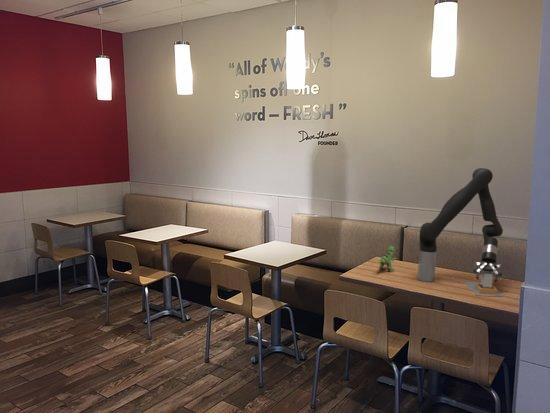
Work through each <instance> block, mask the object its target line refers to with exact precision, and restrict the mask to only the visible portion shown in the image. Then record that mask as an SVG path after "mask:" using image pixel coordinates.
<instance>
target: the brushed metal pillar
mask: <svg viewBox="0 0 550 413" xmlns="http://www.w3.org/2000/svg"><path fill="white" fill-rule="evenodd" d="M480 273H481V275H480V283H481V286H480V288H484V289H492V285H493V276H494V273H493V272H492V271H491V272H489V271H482V272H480Z"/></svg>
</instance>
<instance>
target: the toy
mask: <svg viewBox="0 0 550 413" xmlns="http://www.w3.org/2000/svg"><path fill="white" fill-rule="evenodd" d="M387 251H388V253H386V254H384V255H382V256H381V258H380V259H379V260H378V263H379V266H378V269H379V271H382V270H386V269H385V268H386V267H384V266H387V270H388V273H394V272H395V269H392V262H395V260H397V257H396V256H395V257H393V254H394V252H395V246H393V245H388V248H387Z"/></svg>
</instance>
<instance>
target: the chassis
mask: <svg viewBox="0 0 550 413" xmlns="http://www.w3.org/2000/svg"><path fill="white" fill-rule="evenodd" d="M464 283H465V284H466V286H467V287H468V288H469V289H470V290H471V292H473V293H474V295H475V297H480V295H481V296H486V297H493V298H495V297H496V298H501V296H503V294H502V292H501V291H499V290H498V289H497V287H496V286H494V285H493V284H492V289H484V288H480V286H481V282H473V281H472V282H471V281H469V282H468V281H464Z"/></svg>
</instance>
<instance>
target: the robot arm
mask: <svg viewBox="0 0 550 413" xmlns="http://www.w3.org/2000/svg"><path fill="white" fill-rule="evenodd" d="M493 177H494V176H493V172H492V171H491V170H490V169H488V168H485V167H483V168H482V167H479V168H476V169H475V170H474V171H473V172H472V178H471V180H470V181H469V182H468V184H466V185H465V186H464V187H463V188H461V189H459V190H458V191H457V192H455V193H454V194H453V195H452V196H451V197H450V198H449V199H448V200H447V201H446V202H445V204H444V205H443V206H442V208H441V210H440V212H439V214H437V216H436V217H435V218H434V219H433V220H432V221H430V222H425V223H423V224H422V225H421V226H420V228H419V229H420V230H419V258H418V260H419V261H418V264H417V265H418V266H417V279H418V281H421V282H422V281H423V282H428V283H429V282H435V280H436V269H437V268H436V266H437V251H438V250H437V248H438V247H437V238H438V237H439V236H440V235H441V233H442V232H443V230H444V229H445V228H447V226H448V224H449V223H451V221H453V220H454V219H455V218H456V217H457V216H458V215H459V214H460V213H461V212H462V211H463V210H464V209H465V207H467V206H468V204H469V203H470V202H471V201H472V200H473V199H474V198H475V196H477V195H478V199H479V204H480V208H481V214H482V218H483V221H485V222H491V224H485V225H483V226H482V229H481V230H482V231H481V232H482V236H483V247H482V252H481V260H480V262H478V261H476V260H475V261H474V264H473V268H472V269H473V273H474V274H476V275H475V279H476V280H477V281H479V279H480V273H482V272H491V273H492V274H493V275H494V283H497V282H498V279H499V277H502V276H503V264H501V263H500V264H497V261H498V260H497V259H498V246H499V245H498V244H499V241H498V239H497V238H496V237H501V236H502V235H503V232H504V231H503V230H504V229H503V227H502V225H501V223H500V221H499V220H498V216H497V212H496V206H495V204H494V201H493V198H492V195H491V192H490V188H489V184H490V183H491V182H492V180H493ZM478 267H479V268H478ZM477 268H478V269H477ZM497 269H498V270H499V272H498V271H497Z"/></svg>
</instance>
